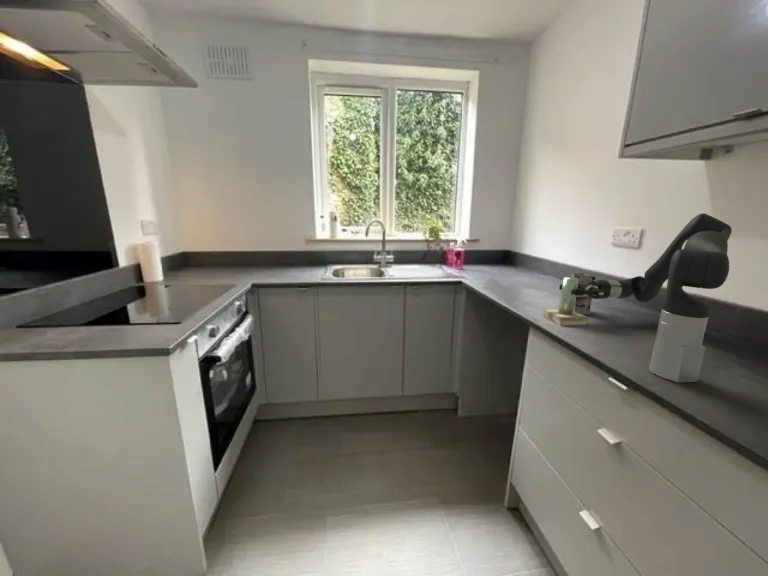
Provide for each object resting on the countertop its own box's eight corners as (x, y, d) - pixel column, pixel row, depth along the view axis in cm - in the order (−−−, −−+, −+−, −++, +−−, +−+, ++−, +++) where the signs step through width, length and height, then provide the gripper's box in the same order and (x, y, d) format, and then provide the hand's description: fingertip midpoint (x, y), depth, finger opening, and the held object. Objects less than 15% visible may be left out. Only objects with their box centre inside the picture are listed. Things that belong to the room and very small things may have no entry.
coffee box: (589, 314, 146) (596, 277, 143) (573, 313, 147) (579, 276, 144) (582, 309, 155) (588, 273, 151) (566, 307, 156) (572, 272, 153)
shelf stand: (586, 324, 133) (587, 317, 132) (559, 325, 131) (561, 317, 131) (567, 315, 144) (568, 308, 143) (543, 316, 142) (544, 309, 141)
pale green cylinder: (575, 315, 135) (581, 279, 132) (563, 314, 134) (569, 279, 131) (567, 311, 140) (572, 276, 137) (555, 311, 139) (560, 276, 136)
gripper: (593, 276, 143) (556, 276, 141) (620, 283, 129) (580, 284, 127) (590, 294, 145) (554, 294, 142) (617, 303, 131) (577, 303, 129)
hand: (566, 289), depth 135 cm, fingers open, 8 cm apart
